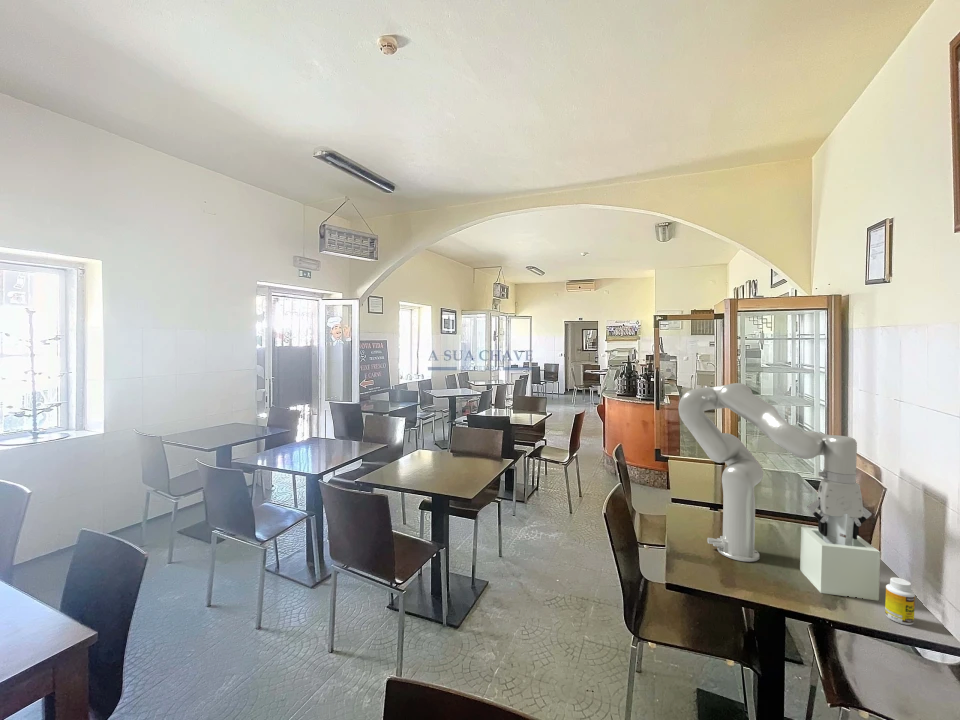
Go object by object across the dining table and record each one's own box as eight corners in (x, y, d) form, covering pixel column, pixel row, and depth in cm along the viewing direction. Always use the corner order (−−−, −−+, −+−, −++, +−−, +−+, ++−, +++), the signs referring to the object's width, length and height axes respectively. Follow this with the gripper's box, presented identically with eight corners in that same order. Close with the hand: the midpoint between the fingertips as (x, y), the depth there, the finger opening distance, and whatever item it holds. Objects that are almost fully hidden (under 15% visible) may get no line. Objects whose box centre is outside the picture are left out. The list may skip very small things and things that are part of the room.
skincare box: (821, 547, 135) (822, 507, 134) (829, 544, 137) (830, 505, 136) (845, 555, 129) (846, 514, 129) (853, 552, 131) (854, 512, 131)
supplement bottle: (907, 628, 112) (908, 588, 112) (880, 616, 117) (881, 578, 117) (918, 623, 114) (919, 584, 114) (891, 611, 119) (892, 574, 119)
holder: (820, 592, 128) (822, 545, 128) (800, 570, 142) (801, 526, 141) (878, 600, 124) (880, 551, 124) (851, 576, 138) (853, 532, 138)
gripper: (811, 478, 131) (810, 537, 132) (882, 483, 126) (880, 544, 127) (800, 471, 138) (799, 527, 139) (867, 476, 134) (865, 534, 134)
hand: (837, 535), depth 133 cm, fingers closed on skincare box, 6 cm apart
